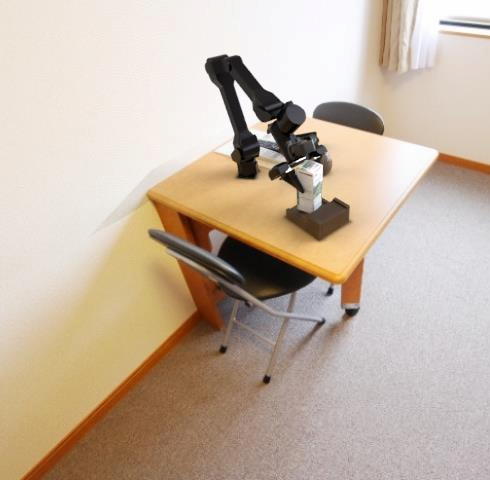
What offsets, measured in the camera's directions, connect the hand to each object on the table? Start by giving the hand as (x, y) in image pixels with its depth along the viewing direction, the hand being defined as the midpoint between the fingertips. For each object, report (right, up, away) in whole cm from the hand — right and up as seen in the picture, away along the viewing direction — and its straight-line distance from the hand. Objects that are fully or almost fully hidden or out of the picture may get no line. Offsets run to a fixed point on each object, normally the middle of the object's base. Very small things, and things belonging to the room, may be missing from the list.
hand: (312, 188), depth 102 cm
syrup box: (-1, -5, +6) cm, 8 cm away
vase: (+4, +9, +26) cm, 28 cm away
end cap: (-3, +21, +39) cm, 44 cm away
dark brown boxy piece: (+1, -9, +6) cm, 11 cm away
